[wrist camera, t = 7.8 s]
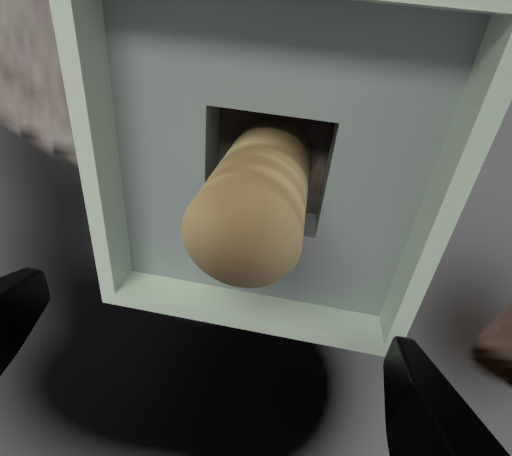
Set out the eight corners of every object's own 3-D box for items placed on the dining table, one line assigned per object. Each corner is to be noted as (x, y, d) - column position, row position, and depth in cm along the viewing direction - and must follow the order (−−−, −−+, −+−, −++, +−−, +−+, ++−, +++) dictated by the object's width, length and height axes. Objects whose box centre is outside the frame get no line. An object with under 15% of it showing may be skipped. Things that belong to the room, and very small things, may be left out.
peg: (317, 123, 17) (312, 194, 10) (304, 198, 19) (292, 297, 13) (236, 112, 18) (180, 173, 11) (231, 187, 20) (182, 277, 13)
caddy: (496, -8, 14) (563, -16, 10) (383, 298, 22) (396, 359, 18) (110, -45, 15) (37, -65, 11) (139, 255, 23) (102, 302, 19)
